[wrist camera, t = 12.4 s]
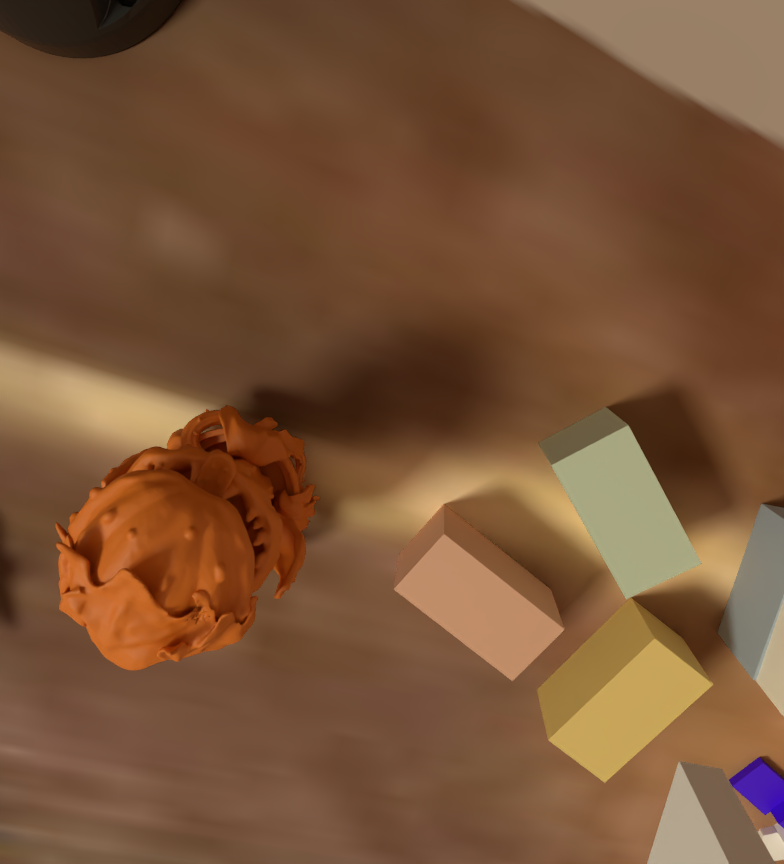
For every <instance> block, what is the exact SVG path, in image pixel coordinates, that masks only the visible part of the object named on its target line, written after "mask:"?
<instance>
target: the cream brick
mask: <svg viewBox="0 0 784 864" xmlns="http://www.w3.org/2000/svg"><path fill="white" fill-rule="evenodd" d="M756 682H757V683H758V684H759V686H760V687H761V688H762V689H763V691H764V692H765V693H766V695H767V696H768V697H769V699H770V700H771V701H772V702H773V704H774V705H775V706H776V708H777V709H778V710H779V711H780V713H781V714H782V715H783V717H784V600H783V603H782V606H781V609H780V612H779V615H778V618H777V621H776V624H775V627H774V629H773V632H772V635H771V638H770V641H769V644H768V647H767V650H766V653H765V656H764V659H763V662H762V665H761V668H760V671H759V673H758V676H757V679H756Z"/></svg>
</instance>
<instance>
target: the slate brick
mask: <svg viewBox="0 0 784 864" xmlns="http://www.w3.org/2000/svg"><path fill="white" fill-rule="evenodd" d="M783 600H784V508H782V507H777V506H772V505H767V504H762V503H761V506H760V509H759V512H758V515H757V518H756V521H755V524H754V527H753V530H752V533H751V536H750V539H749V541H748V544H747V547H746V550H745V553H744V556H743V559H742V562H741V565H740V568H739V571H738V574H737V577H736V580H735V582H734V585H733V588H732V591H731V594H730V597H729V600H728V603H727V606H726V609H725V612H724V615H723V618H722V620H721V623H720V626H719V629H718V632H717V633H718V635H719V636H720V637H721V639H722V640H723V641H724V642H725V644H726V645H727V646H728V648H729V649H730V650H731V652H732V653H733V654H734V656H735V657H736V658H737V659H738V661H739V662H740V663H741V665H742V666H743V667H744V669H745V670H746V671H747V672H748V674H749V675H750V676H751V678H752V679H753V680H756V679H757V676H758V673H759V671H760V668H761V665H762V662H763V659H764V656H765V653H766V650H767V647H768V644H769V641H770V638H771V635H772V632H773V629H774V627H775V624H776V621H777V618H778V615H779V612H780V609H781V606H782V603H783Z"/></svg>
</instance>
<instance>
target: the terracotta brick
mask: <svg viewBox="0 0 784 864" xmlns="http://www.w3.org/2000/svg"><path fill="white" fill-rule="evenodd" d="M394 590H395V591H397V592H398V593H399V594H401V595H402V596H403V597H404V598H406V599H407V600H408V601H410V602H411V603H412V604H414V605H415V606H416V607H417V608H419V609H420V610H421V611H423V612H424V613H425V614H426V615H428V616H429V617H430V618H432V619H433V620H434V621H435V622H437V623H438V624H439V625H441V626H442V627H443V628H444V629H446V630H447V631H448V632H450V633H451V634H452V635H454V636H455V637H456V638H457V639H459V640H460V641H461V642H463V643H464V644H465V645H466V646H468V647H469V648H470V649H472V650H473V651H474V652H475V653H477V654H478V655H479V656H481V657H482V658H483V659H484V660H486V661H487V662H488V663H490V664H491V665H492V666H493V667H495V668H496V669H497V670H499V671H500V672H501V673H503V674H504V675H505V676H506V677H508V678H509V679H510V680H512V681H513V680H514V679H515V678H516V677H517V676H518V675H519V674H520V673H521V672H522V671H523V670H524V669H525V668H526V667H527V666H528V665H529V664H530V663H531V662H532V661H533V660H534V659H535V658H536V657H537V656H538V655H539V654H540V653H541V652H542V651H543V650H544V649H545V648H546V647H547V646H548V645H549V644H551V643H552V642H553V641H554V640H555V639H556V638H557V637H558V636H559V635H560V634H561V633H562V632H563V631H564V630H565V629H564V626H563V623H562V620H561V617H560V614H559V611H558V608H557V606H556V603H555V600H554V597H553V594H552V591H551V589H550V588H548V587H547V586H546V585H545V584H543V583H542V582H541V581H540V580H538V579H537V578H536V577H535V576H533V575H532V574H531V573H530V572H528V571H527V570H526V569H525V568H523V567H522V566H521V565H520V564H518V563H517V562H516V561H514V560H513V559H512V558H511V557H509V556H508V555H507V554H506V553H504V552H503V551H502V550H501V549H499V548H498V547H497V546H496V545H494V544H493V543H492V542H491V541H489V540H488V539H487V538H486V537H484V536H483V535H482V534H481V533H479V532H478V531H477V530H476V529H474V528H473V527H472V526H471V525H469V524H468V523H467V522H466V521H464V520H463V519H462V518H461V517H459V516H458V515H457V514H456V513H454V512H453V511H452V510H451V509H449V508H448V507H447V506H446V505H443V506H442V507H441V508H440V509H439V510H438V511H437V512H436V514H435V515H434V516H433V517H432V518H431V519H430V520H429V521H428V522H427V524H426V525H425V526H424V527H423V528H422V529H421V530H420V531H419V533H418V534H417V535H416V536H415V537H414V538H413V539H412V540H411V542H410V543H409V544H408V545H407V546H406V547H405V548H404V549H403V550H402V552H401V553H400V554H399V559H398V565H397V572H396V578H395V584H394Z"/></svg>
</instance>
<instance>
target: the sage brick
mask: <svg viewBox="0 0 784 864" xmlns="http://www.w3.org/2000/svg"><path fill="white" fill-rule="evenodd" d="M539 445H540V447H541V449H542V450H543V452H544V454H545V456H546V457H547V459H548V461H549V463H550V465H551V466H552V468H553V470H554V472H555V474H556V475H557V477H558V479H559V481H560V482H561V484H562V486H563V488H564V490H565V491H566V493H567V495H568V497H569V499H570V500H571V502H572V504H573V506H574V508H575V509H576V511H577V513H578V515H579V516H580V518H581V520H582V522H583V524H584V525H585V527H586V529H587V531H588V533H589V534H590V536H591V538H592V540H593V541H594V543H595V545H596V547H597V549H598V550H599V552H600V554H601V556H602V558H603V559H604V561H605V563H606V565H607V566H608V568H609V570H610V572H611V573H612V575H613V577H614V579H615V580H616V582H617V584H618V586H619V587H620V589H621V591H622V593H623V595H624V596H625V598H626V599H628V598H630V597H632V596H634V595H636V594H638V593H640V592H643V591H645V590H647V589H649V588H651V587H653V586H655V585H658V584H660V583H662V582H664V581H666V580H668V579H670V578H672V577H675V576H677V575H679V574H681V573H683V572H685V571H687V570H689V569H692V568H694V567H696V566H698V565H700V564H702V563H701V561H700V559H699V557H698V556H697V554H696V552H695V550H694V548H693V546H692V544H691V542H690V540H689V539H688V537H687V535H686V533H685V531H684V529H683V527H682V525H681V523H680V522H679V520H678V518H677V516H676V514H675V512H674V510H673V508H672V506H671V505H670V503H669V501H668V499H667V497H666V495H665V493H664V491H663V489H662V488H661V486H660V484H659V482H658V480H657V478H656V476H655V474H654V472H653V471H652V469H651V467H650V465H649V463H648V461H647V459H646V457H645V455H644V454H643V452H642V450H641V448H640V446H639V444H638V442H637V440H636V438H635V437H634V435H633V433H632V431H631V429H630V427H629V425H628V424H626V423H625V422H624V421H623V420H621V419H620V418H619V417H618V416H616V415H615V414H614V413H613V412H611V411H610V410H609V409H608V408H606V407H605V408H603V409H601V410H599V411H597V412H595V413H593V414H592V415H590V416H588V417H586V418H584V419H582V420H580V421H578V422H576V423H575V424H573V425H571V426H569V427H567V428H565V429H563V430H561V431H559V432H558V433H556V434H554V435H552V436H550V437H548V438H546V439H544V440H543V441H541V442H539Z"/></svg>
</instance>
